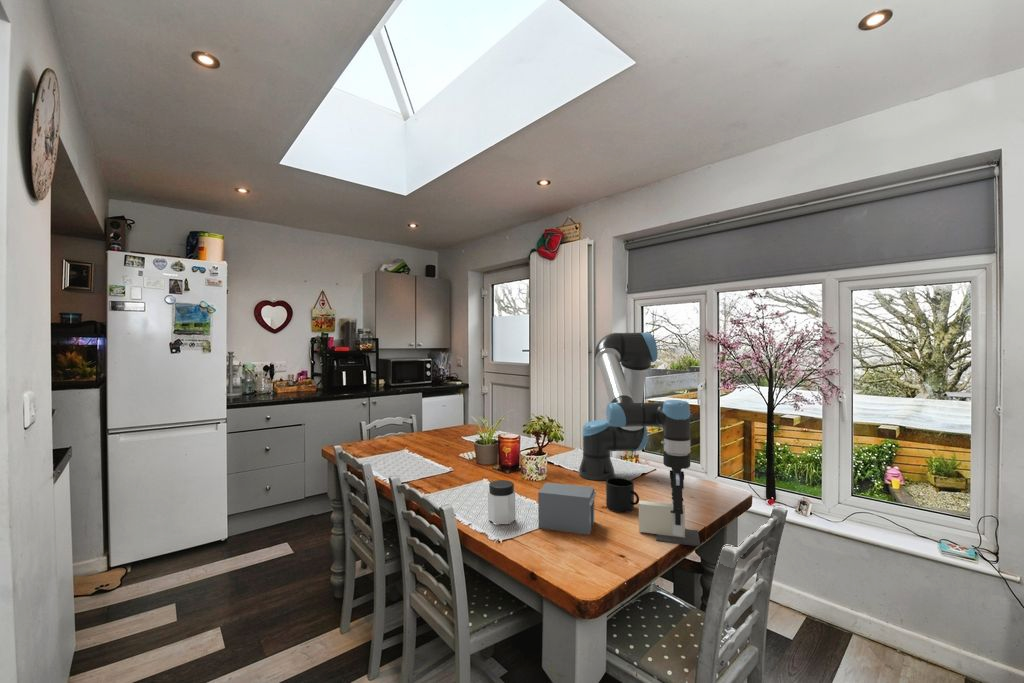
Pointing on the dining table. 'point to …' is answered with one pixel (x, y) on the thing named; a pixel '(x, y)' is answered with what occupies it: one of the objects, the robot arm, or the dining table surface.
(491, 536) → the dining table surface
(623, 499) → the mug
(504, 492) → the jar
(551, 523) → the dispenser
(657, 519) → the cream upright slab
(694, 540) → the mat
